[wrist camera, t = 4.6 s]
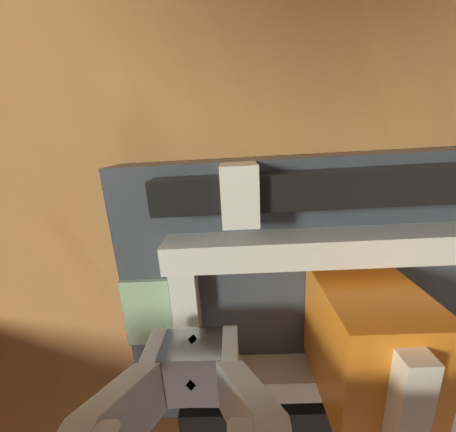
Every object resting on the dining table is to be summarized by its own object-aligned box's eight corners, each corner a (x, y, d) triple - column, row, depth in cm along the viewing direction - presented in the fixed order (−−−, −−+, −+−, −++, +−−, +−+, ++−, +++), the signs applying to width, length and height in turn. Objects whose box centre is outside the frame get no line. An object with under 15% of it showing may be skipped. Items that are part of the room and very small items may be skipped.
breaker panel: (156, 382, 15) (133, 456, 11) (121, 163, 12) (72, 174, 8) (488, 372, 14) (570, 447, 11) (552, 141, 11) (700, 142, 8)
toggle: (303, 347, 11) (348, 477, 7) (306, 263, 10) (361, 355, 6) (374, 345, 11) (464, 475, 7) (384, 259, 10) (499, 351, 6)
